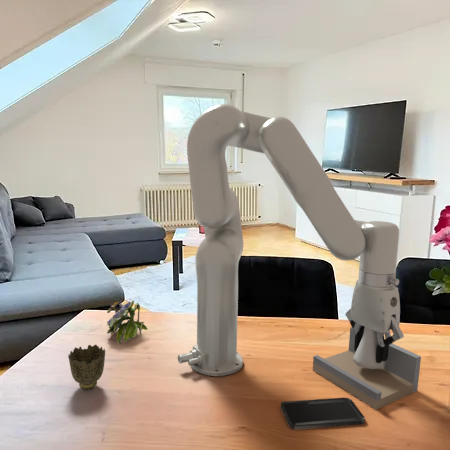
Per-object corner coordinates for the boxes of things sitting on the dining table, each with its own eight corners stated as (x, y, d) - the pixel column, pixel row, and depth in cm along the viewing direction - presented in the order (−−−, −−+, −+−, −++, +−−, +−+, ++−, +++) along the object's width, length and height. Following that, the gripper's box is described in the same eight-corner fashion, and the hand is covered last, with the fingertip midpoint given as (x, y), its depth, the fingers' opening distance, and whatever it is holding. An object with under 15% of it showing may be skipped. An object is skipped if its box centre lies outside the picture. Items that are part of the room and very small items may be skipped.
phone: (367, 420, 80) (290, 426, 78) (366, 426, 80) (290, 431, 78) (349, 396, 88) (279, 401, 85) (349, 401, 88) (278, 406, 86)
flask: (389, 371, 91) (392, 328, 90) (354, 369, 93) (356, 326, 91) (382, 355, 98) (384, 314, 97) (350, 353, 100) (352, 313, 98)
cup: (104, 375, 95) (103, 342, 94) (108, 392, 88) (107, 357, 87) (69, 381, 93) (67, 347, 91) (70, 399, 86) (68, 363, 84)
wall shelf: (376, 409, 85) (379, 372, 83) (312, 370, 99) (314, 338, 98) (417, 390, 92) (421, 356, 90) (352, 356, 107) (354, 326, 105)
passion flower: (114, 351, 118) (112, 309, 123) (153, 344, 118) (149, 303, 123) (101, 345, 108) (99, 299, 113) (143, 337, 108) (140, 292, 113)
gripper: (422, 286, 87) (414, 368, 90) (357, 266, 101) (352, 337, 105) (399, 292, 83) (392, 377, 86) (335, 270, 97) (330, 344, 101)
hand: (370, 354), depth 95 cm, fingers closed on flask, 5 cm apart
